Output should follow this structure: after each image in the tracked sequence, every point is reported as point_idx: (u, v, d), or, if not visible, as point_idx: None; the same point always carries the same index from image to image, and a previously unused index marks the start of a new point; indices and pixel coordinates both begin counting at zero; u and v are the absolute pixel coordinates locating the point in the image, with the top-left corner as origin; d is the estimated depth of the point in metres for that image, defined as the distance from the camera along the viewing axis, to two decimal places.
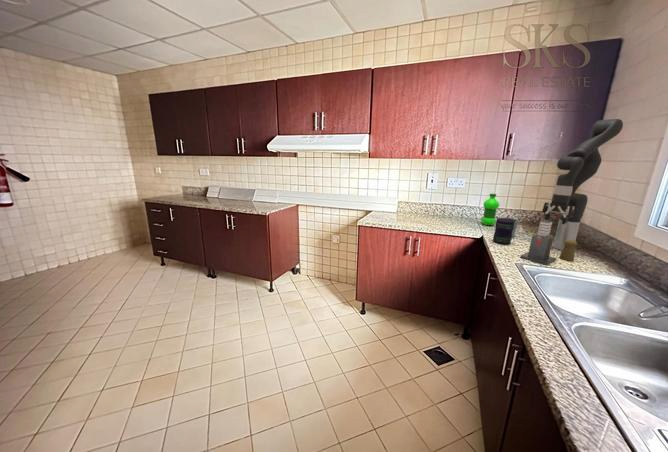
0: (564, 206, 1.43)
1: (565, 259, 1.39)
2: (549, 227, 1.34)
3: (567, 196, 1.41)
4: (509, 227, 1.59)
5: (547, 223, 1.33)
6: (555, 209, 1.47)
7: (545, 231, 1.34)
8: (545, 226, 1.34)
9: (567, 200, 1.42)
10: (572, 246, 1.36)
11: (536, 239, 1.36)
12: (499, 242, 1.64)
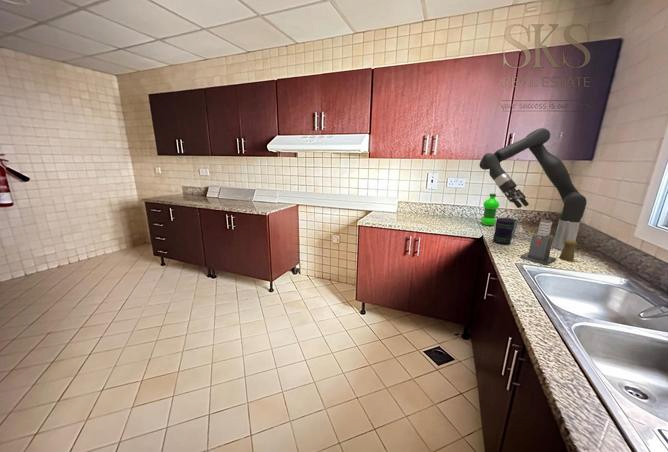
0: None
1: (565, 259, 1.39)
2: (549, 227, 1.34)
3: None
4: (509, 227, 1.59)
5: (547, 223, 1.33)
6: None
7: (545, 231, 1.34)
8: (545, 226, 1.34)
9: None
10: (572, 246, 1.36)
11: (536, 239, 1.36)
12: (499, 242, 1.64)
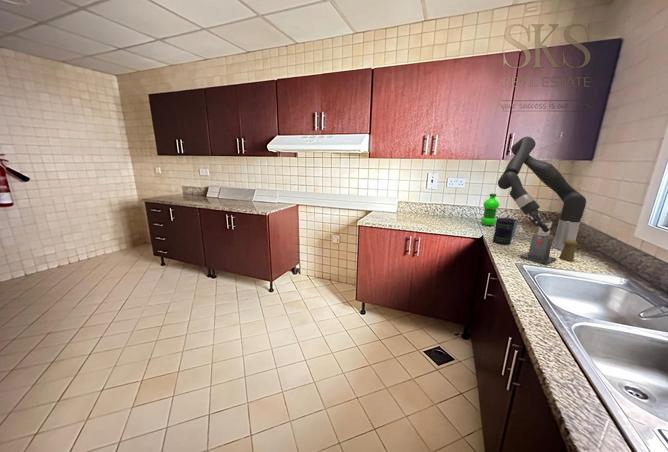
0: (539, 212, 1.39)
1: (565, 259, 1.39)
2: (549, 227, 1.34)
3: None
4: (509, 227, 1.59)
5: (547, 223, 1.33)
6: None
7: None
8: None
9: None
10: (572, 246, 1.36)
11: (536, 239, 1.36)
12: (499, 242, 1.64)
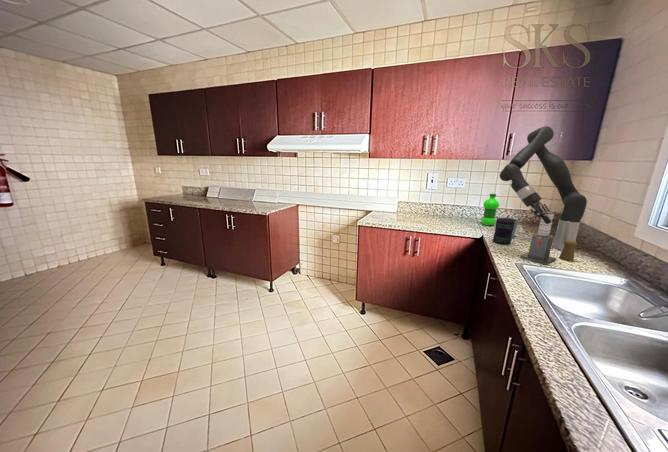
0: None
1: (565, 259, 1.39)
2: (551, 219, 1.33)
3: None
4: (509, 227, 1.59)
5: (549, 214, 1.32)
6: None
7: None
8: None
9: None
10: (572, 246, 1.36)
11: (536, 239, 1.36)
12: (499, 242, 1.64)
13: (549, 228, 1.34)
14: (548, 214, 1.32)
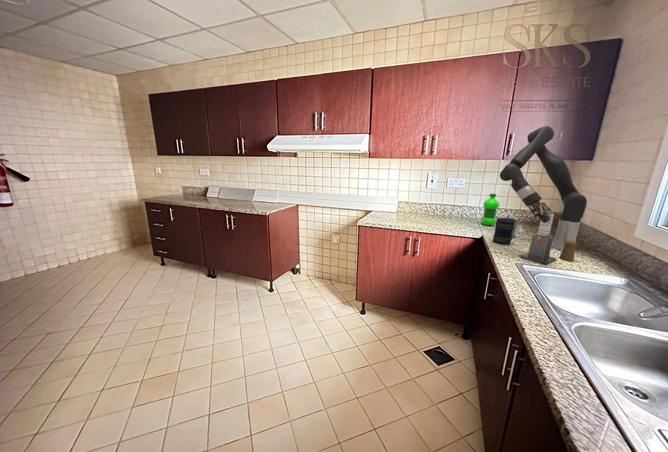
0: (541, 203, 1.38)
1: (565, 259, 1.39)
2: (551, 219, 1.33)
3: None
4: (509, 227, 1.59)
5: (549, 214, 1.32)
6: None
7: (547, 223, 1.33)
8: (547, 218, 1.33)
9: None
10: (572, 246, 1.36)
11: (536, 239, 1.36)
12: (499, 242, 1.64)
13: (549, 228, 1.34)
14: (548, 214, 1.32)
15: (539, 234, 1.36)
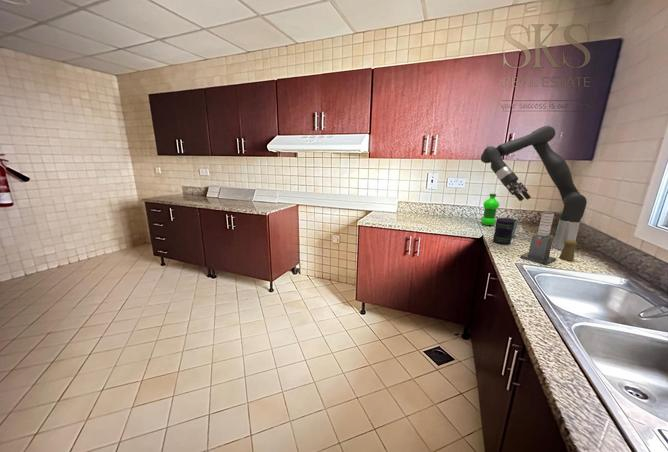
0: (518, 183, 1.46)
1: (565, 259, 1.39)
2: (551, 219, 1.33)
3: None
4: (509, 227, 1.59)
5: (549, 214, 1.32)
6: (518, 187, 1.43)
7: (547, 223, 1.33)
8: (547, 218, 1.33)
9: None
10: (572, 246, 1.36)
11: (536, 239, 1.36)
12: (499, 242, 1.64)
13: (549, 228, 1.34)
14: (548, 214, 1.32)
15: (539, 234, 1.36)
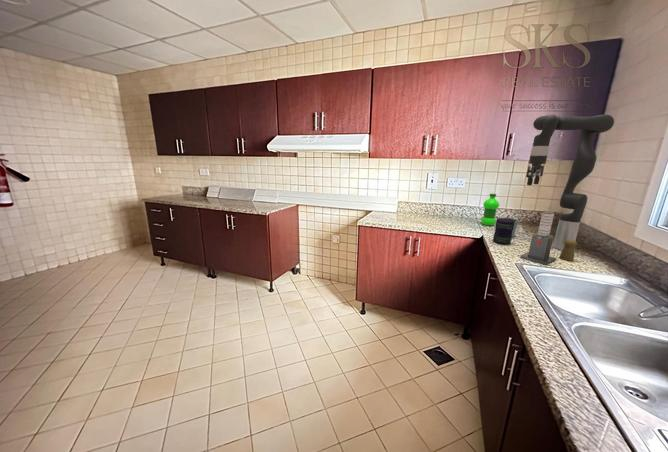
0: (541, 166, 1.44)
1: (565, 259, 1.39)
2: (551, 219, 1.33)
3: None
4: (509, 227, 1.59)
5: (549, 214, 1.32)
6: None
7: (547, 223, 1.33)
8: (547, 218, 1.33)
9: None
10: (572, 246, 1.36)
11: (536, 239, 1.36)
12: (499, 242, 1.64)
13: (549, 228, 1.34)
14: (548, 214, 1.32)
15: (539, 234, 1.36)
